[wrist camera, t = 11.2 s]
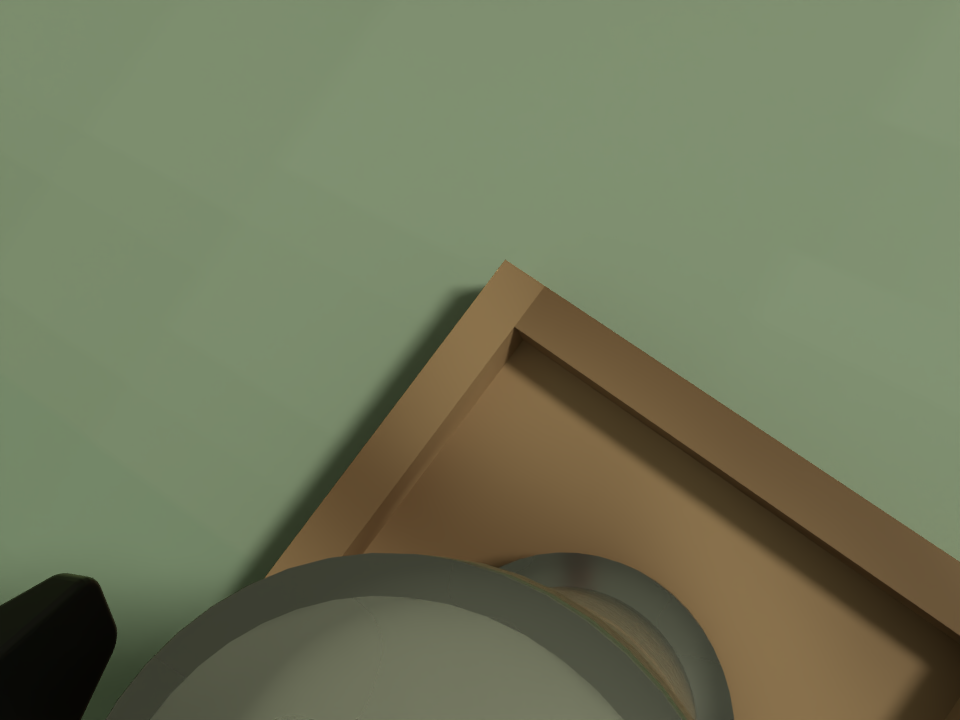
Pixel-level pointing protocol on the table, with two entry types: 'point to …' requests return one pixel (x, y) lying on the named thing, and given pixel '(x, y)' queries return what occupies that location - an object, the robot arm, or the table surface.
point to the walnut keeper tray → (652, 510)
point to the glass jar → (438, 646)
